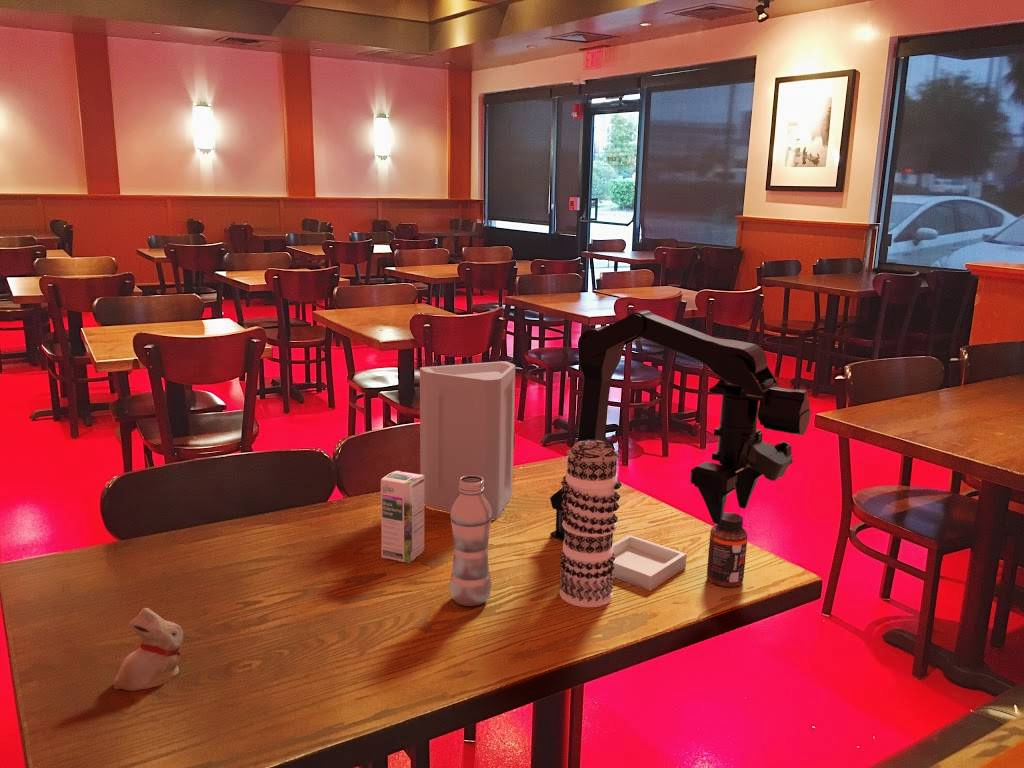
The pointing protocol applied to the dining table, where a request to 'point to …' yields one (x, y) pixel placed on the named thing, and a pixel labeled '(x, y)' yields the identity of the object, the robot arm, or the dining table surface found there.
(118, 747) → the dining table surface
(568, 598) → the decorative candle
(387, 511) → the syrup box
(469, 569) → the plastic bottle
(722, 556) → the supplement bottle
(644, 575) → the tray
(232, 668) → the dining table surface
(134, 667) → the chocolate bunny
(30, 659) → the dining table surface
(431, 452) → the triangular storage bin
